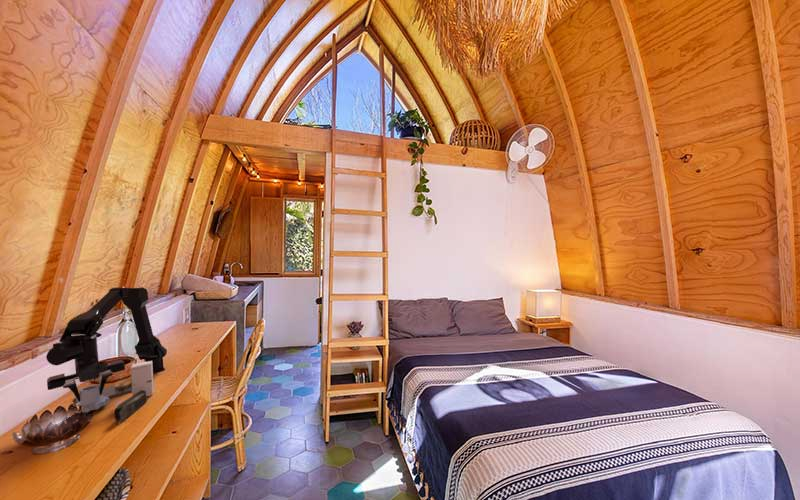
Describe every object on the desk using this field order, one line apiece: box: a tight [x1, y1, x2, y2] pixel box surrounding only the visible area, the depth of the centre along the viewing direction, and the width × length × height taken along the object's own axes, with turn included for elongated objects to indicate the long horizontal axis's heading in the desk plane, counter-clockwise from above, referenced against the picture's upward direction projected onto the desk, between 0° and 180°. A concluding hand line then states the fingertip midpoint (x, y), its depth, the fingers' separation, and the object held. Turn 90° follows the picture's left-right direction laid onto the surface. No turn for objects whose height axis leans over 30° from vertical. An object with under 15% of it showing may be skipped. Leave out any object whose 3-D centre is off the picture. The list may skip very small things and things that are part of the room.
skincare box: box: [130, 361, 155, 398], centre depth 117 cm, size 6×4×12 cm
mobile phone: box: [114, 390, 148, 426], centre depth 105 cm, size 5×3×15 cm
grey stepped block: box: [74, 384, 110, 414], centre depth 108 cm, size 9×9×6 cm
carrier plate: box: [75, 378, 132, 403], centre depth 121 cm, size 18×12×4 cm, turn 139°
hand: (90, 397), depth 108 cm, fingers closed on grey stepped block, 5 cm apart
